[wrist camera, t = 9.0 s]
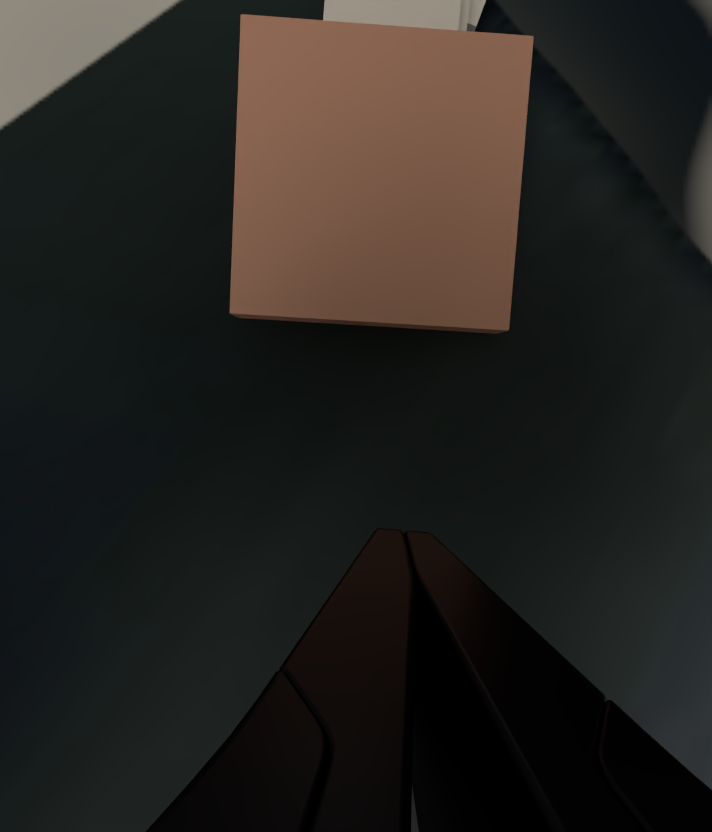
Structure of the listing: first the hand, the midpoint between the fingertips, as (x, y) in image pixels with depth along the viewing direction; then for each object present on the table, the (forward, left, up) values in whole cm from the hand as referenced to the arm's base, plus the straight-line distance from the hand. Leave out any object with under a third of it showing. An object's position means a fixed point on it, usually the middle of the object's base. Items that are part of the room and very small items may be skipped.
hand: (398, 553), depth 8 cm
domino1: (+7, -5, -10) cm, 13 cm away
